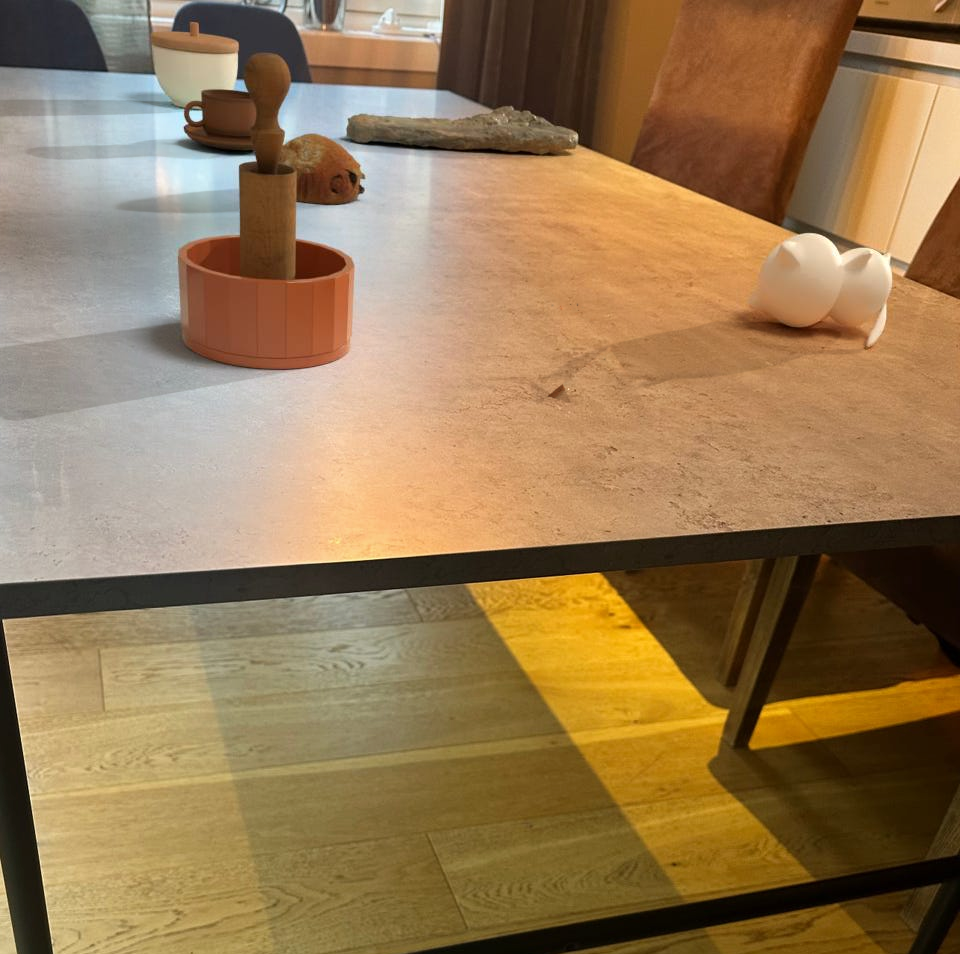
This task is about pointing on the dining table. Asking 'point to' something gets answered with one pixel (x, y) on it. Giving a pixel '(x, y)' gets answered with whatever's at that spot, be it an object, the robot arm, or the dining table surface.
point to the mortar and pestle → (267, 178)
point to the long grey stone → (467, 131)
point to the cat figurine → (823, 284)
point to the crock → (265, 306)
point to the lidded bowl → (193, 63)
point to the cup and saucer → (222, 119)
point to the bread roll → (322, 170)
